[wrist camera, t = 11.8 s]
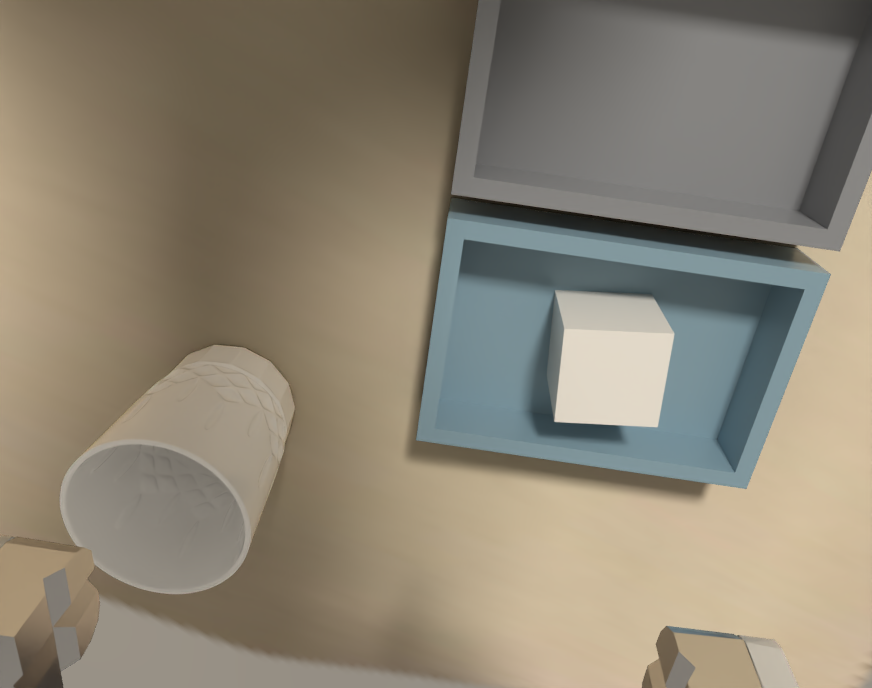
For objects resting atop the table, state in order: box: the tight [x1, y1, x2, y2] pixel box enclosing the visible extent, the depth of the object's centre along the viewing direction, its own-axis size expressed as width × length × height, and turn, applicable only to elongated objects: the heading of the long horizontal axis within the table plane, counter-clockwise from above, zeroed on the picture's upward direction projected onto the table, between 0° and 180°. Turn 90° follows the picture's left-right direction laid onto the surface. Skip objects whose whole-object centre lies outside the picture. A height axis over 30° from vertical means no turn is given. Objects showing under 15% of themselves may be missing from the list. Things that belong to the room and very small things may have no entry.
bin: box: [416, 198, 831, 489], centre depth 34 cm, size 11×16×4 cm
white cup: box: [60, 345, 295, 594], centre depth 34 cm, size 8×8×10 cm
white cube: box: [547, 290, 674, 427], centre depth 33 cm, size 4×4×4 cm
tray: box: [451, 0, 872, 251], centre depth 28 cm, size 11×16×4 cm
